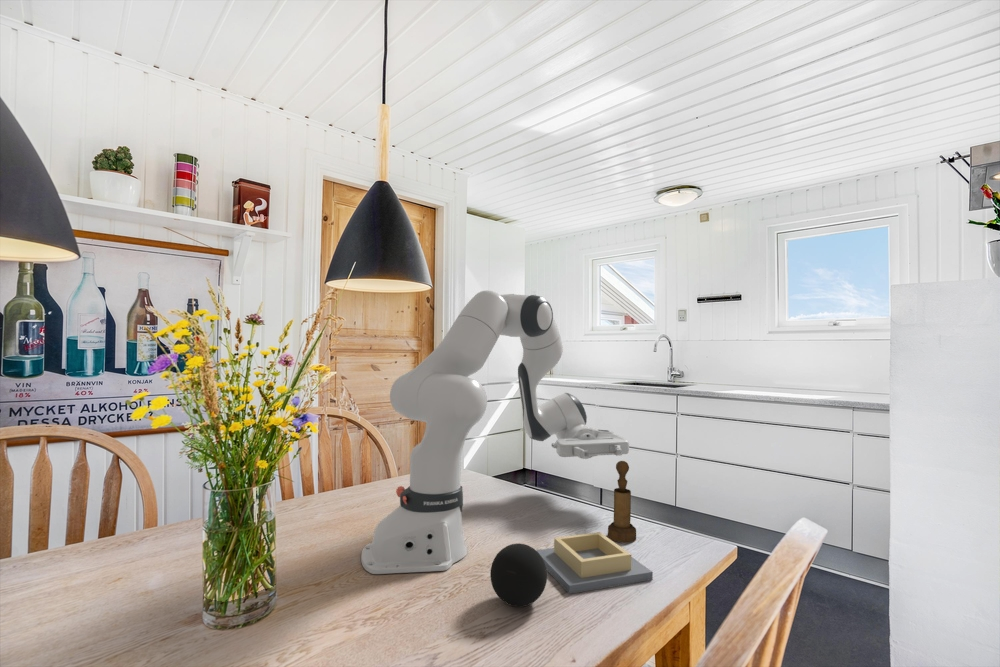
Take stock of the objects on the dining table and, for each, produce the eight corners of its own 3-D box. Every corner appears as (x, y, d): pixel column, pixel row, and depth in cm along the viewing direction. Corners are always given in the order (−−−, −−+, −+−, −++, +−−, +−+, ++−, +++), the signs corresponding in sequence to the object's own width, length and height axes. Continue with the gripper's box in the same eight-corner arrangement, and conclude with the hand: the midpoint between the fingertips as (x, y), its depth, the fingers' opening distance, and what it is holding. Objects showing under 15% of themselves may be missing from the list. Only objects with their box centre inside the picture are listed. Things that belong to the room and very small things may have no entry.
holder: (569, 593, 90) (569, 569, 90) (535, 557, 105) (535, 536, 105) (652, 579, 96) (652, 556, 96) (608, 547, 111) (608, 527, 111)
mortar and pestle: (629, 545, 112) (629, 466, 112) (603, 538, 116) (603, 461, 116) (640, 536, 117) (640, 460, 118) (614, 530, 121) (615, 456, 121)
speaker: (534, 585, 93) (534, 532, 93) (555, 613, 83) (556, 553, 84) (483, 593, 90) (484, 538, 90) (499, 622, 80) (500, 561, 81)
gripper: (549, 432, 141) (564, 443, 127) (616, 430, 145) (638, 439, 131) (549, 455, 141) (564, 467, 127) (616, 451, 144) (638, 463, 131)
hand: (602, 453), depth 129 cm, fingers open, 8 cm apart
